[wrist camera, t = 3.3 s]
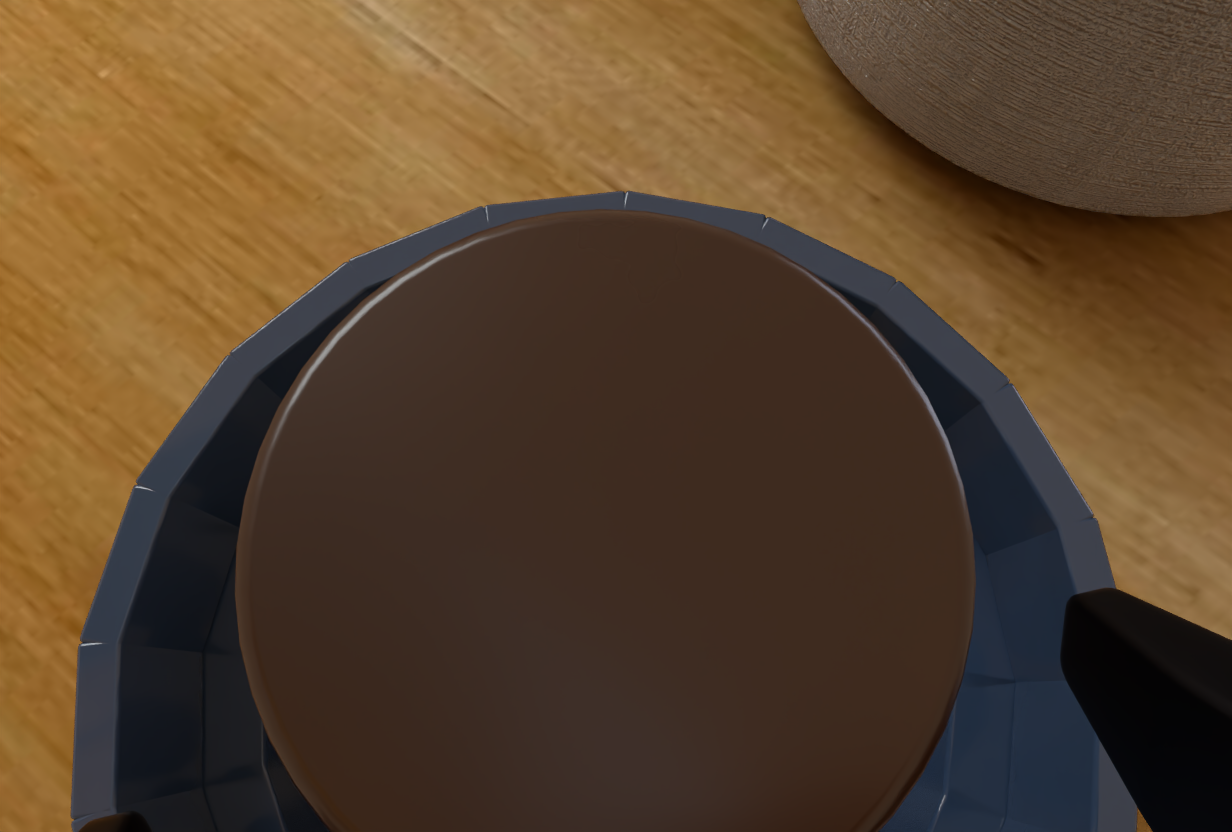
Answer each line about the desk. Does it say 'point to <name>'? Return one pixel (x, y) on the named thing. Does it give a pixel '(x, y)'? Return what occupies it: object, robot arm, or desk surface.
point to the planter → (1054, 93)
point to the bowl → (211, 515)
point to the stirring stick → (605, 545)
